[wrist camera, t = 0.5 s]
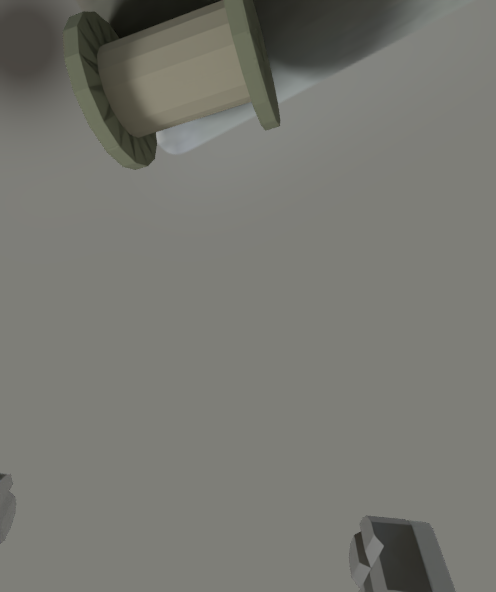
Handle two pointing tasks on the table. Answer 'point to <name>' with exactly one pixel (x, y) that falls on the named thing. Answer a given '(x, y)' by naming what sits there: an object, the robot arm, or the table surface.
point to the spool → (167, 75)
